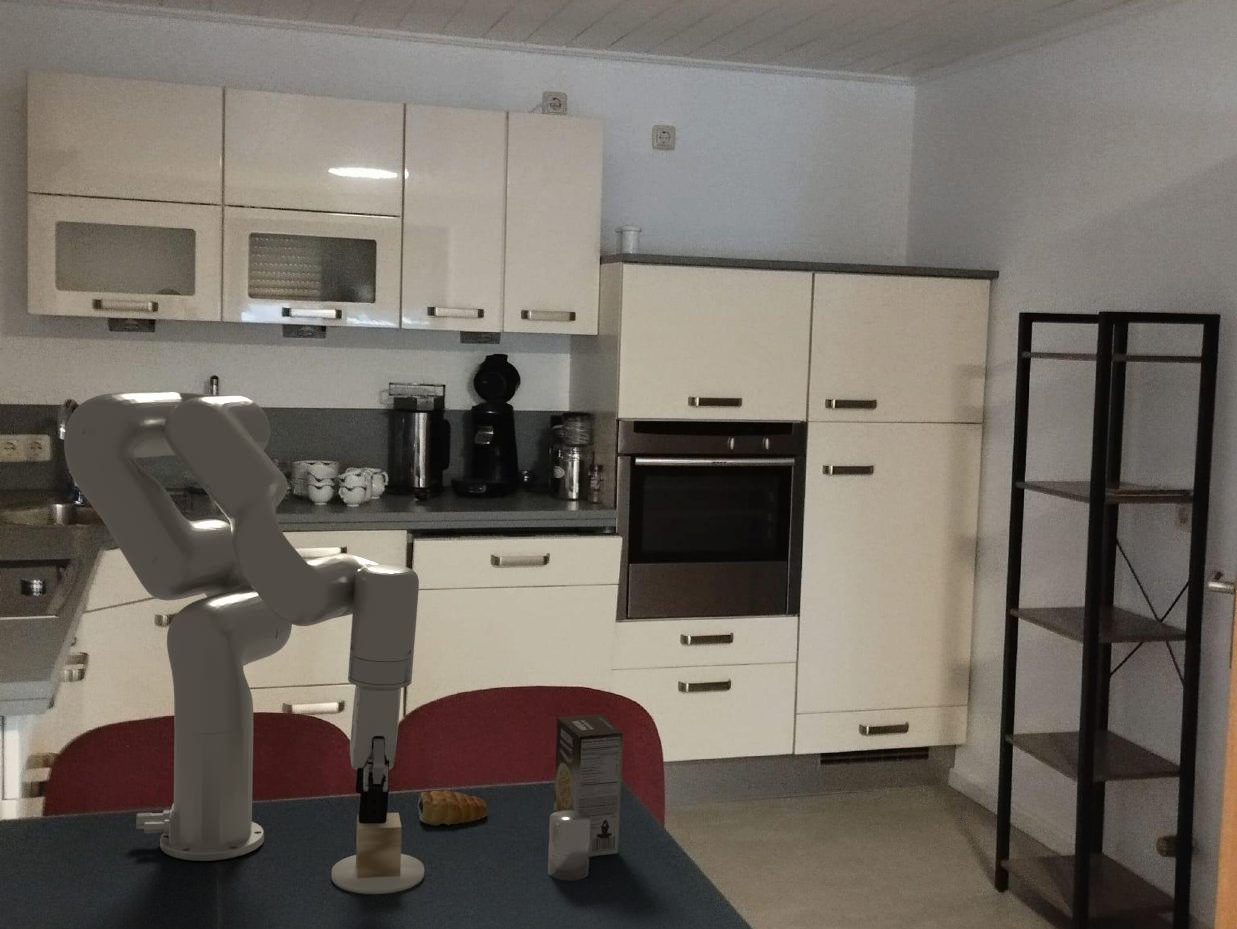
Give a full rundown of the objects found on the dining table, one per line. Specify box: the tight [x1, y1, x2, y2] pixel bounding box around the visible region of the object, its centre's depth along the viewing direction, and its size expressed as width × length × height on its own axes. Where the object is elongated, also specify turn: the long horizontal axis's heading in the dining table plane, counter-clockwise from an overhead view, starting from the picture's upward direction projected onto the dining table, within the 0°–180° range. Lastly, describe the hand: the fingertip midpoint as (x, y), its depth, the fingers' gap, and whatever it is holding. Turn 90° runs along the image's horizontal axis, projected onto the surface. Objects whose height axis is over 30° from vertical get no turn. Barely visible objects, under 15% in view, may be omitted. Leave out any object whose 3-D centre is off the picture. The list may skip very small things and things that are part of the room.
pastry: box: [417, 789, 488, 826], centre depth 182 cm, size 9×7×4 cm
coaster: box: [331, 853, 425, 895], centre depth 162 cm, size 11×11×1 cm
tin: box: [547, 810, 590, 882], centre depth 165 cm, size 5×5×7 cm
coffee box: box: [553, 713, 624, 858], centre depth 174 cm, size 9×6×16 cm
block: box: [355, 812, 402, 878], centre depth 161 cm, size 5×5×6 cm
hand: (370, 807), depth 161 cm, fingers open, 9 cm apart
